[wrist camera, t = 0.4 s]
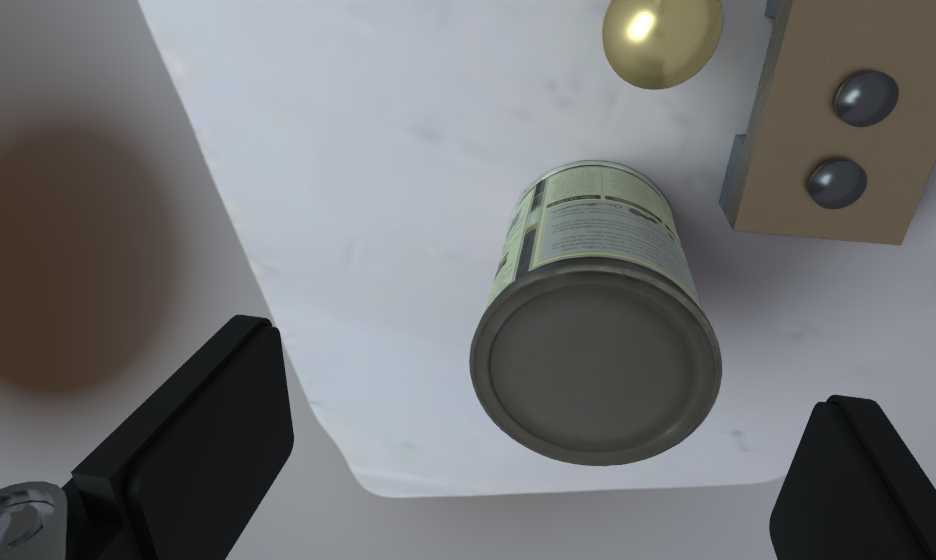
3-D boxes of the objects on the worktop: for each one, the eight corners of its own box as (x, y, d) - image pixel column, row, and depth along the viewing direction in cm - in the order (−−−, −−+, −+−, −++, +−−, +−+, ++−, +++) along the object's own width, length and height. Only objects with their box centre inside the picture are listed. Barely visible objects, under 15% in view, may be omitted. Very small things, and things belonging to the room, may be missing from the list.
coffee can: (675, 307, 38) (716, 472, 26) (516, 311, 40) (484, 464, 28) (679, 150, 33) (731, 260, 21) (499, 165, 35) (452, 272, 23)
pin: (604, -37, 30) (610, -36, 21) (691, -35, 29) (735, -33, 20) (594, 51, 32) (596, 86, 23) (675, 55, 31) (708, 92, 22)
